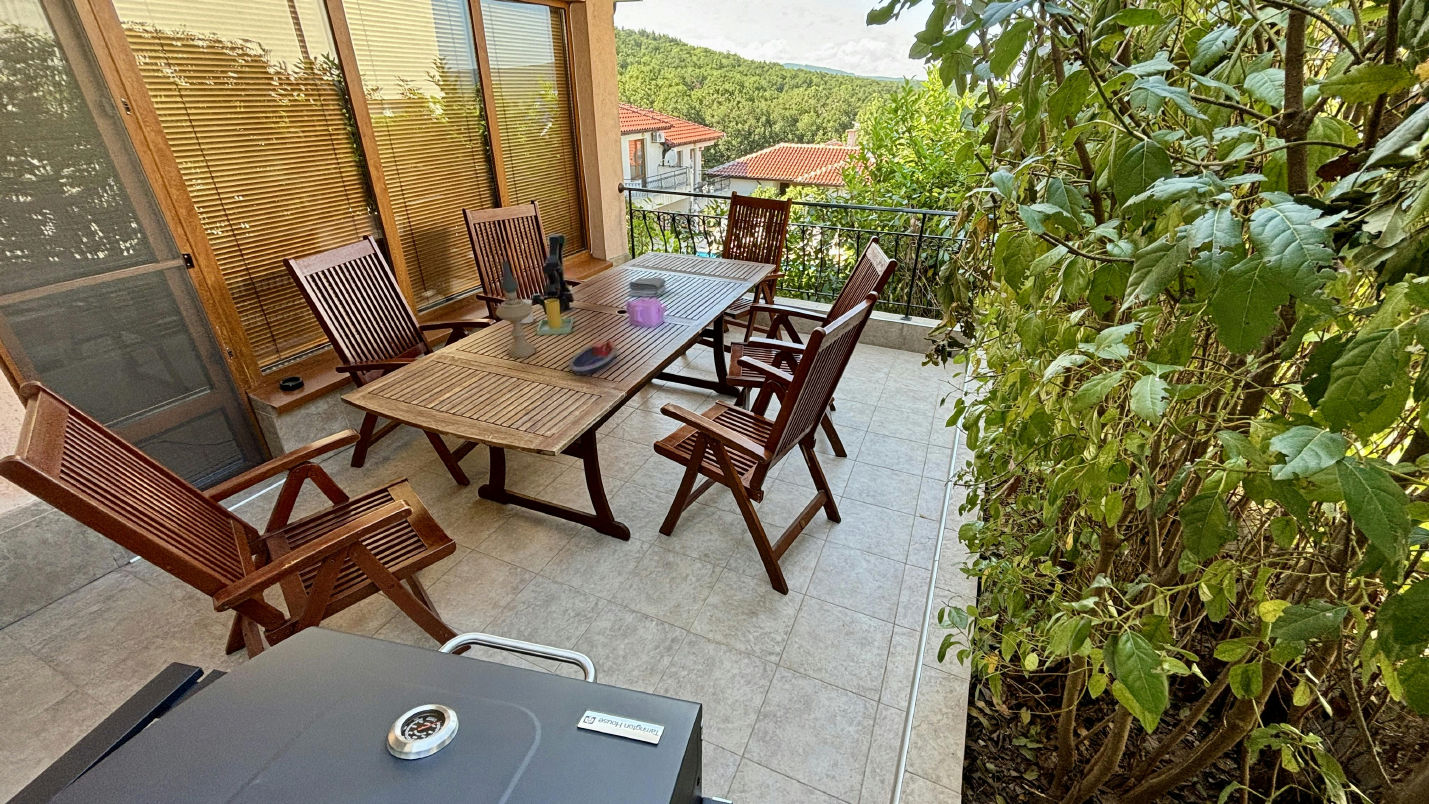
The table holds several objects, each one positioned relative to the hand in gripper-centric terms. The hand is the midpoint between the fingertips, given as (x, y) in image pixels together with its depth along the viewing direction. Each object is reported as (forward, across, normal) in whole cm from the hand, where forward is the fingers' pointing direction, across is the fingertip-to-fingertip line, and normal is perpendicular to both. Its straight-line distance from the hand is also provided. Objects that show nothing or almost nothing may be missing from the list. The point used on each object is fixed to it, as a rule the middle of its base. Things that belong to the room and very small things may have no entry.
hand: (553, 314), depth 284 cm
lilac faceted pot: (+3, +44, +8) cm, 45 cm away
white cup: (-5, -16, +16) cm, 23 cm away
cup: (+4, 0, +6) cm, 7 cm away
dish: (+37, +23, -26) cm, 51 cm away
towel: (-32, +44, +43) cm, 69 cm away
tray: (+4, 0, +6) cm, 8 cm away
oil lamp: (+25, -11, -14) cm, 30 cm away
